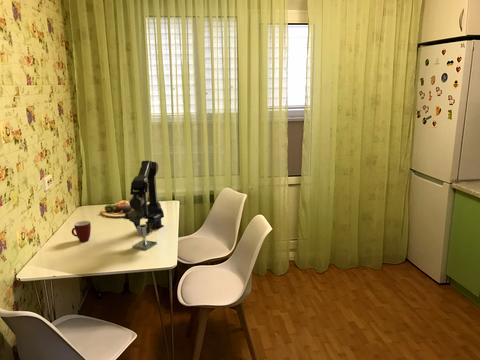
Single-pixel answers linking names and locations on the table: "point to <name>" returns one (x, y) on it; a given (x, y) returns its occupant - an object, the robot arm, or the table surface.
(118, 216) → the wooden plate with food
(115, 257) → the table surface
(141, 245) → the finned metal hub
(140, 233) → the hub ring
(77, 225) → the mug
